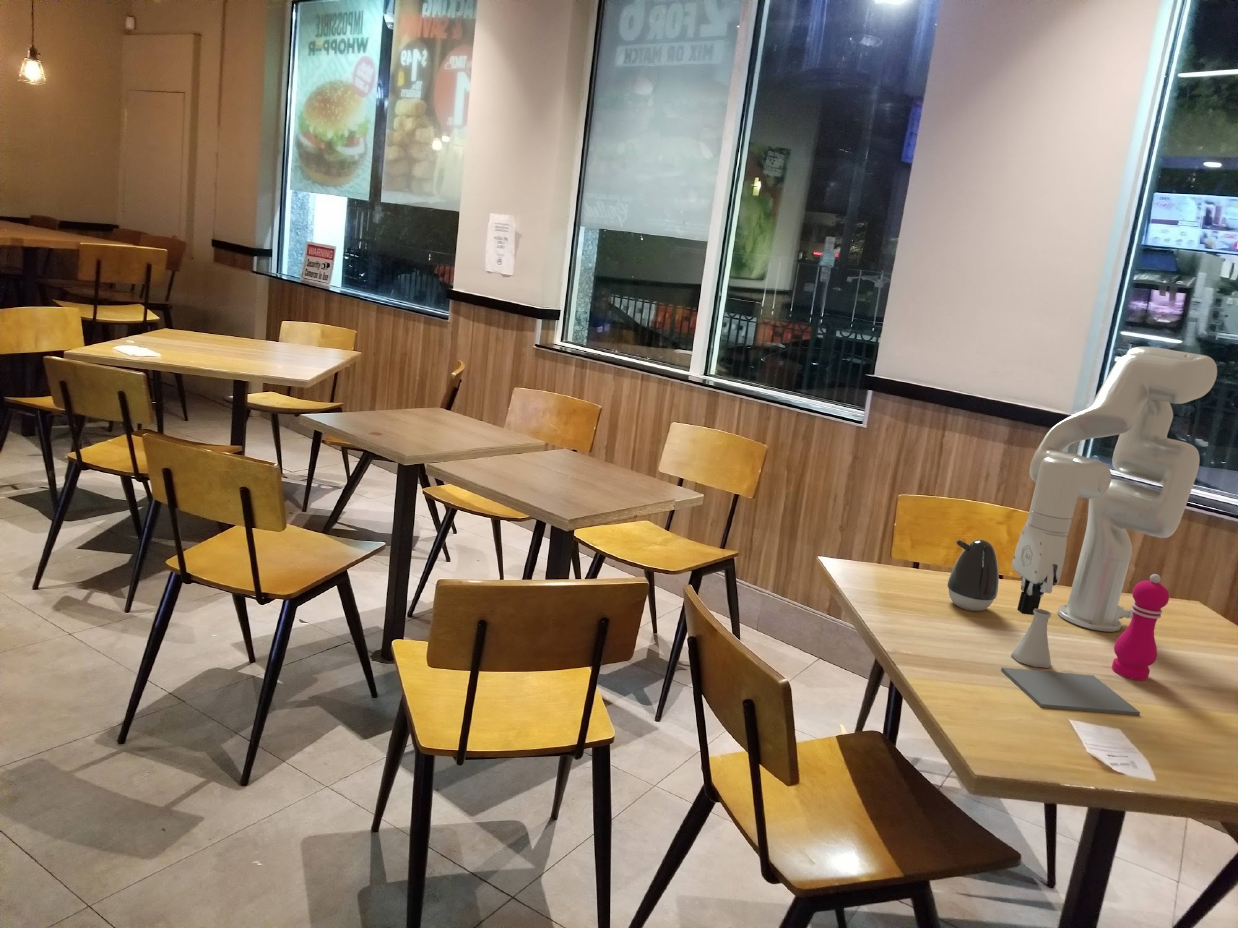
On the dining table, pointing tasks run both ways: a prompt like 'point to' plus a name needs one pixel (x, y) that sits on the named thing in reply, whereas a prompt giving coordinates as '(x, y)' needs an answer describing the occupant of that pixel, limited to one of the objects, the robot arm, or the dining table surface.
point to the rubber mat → (1069, 691)
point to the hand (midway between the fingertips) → (1026, 612)
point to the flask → (1035, 642)
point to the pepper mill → (1141, 631)
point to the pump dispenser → (974, 576)
